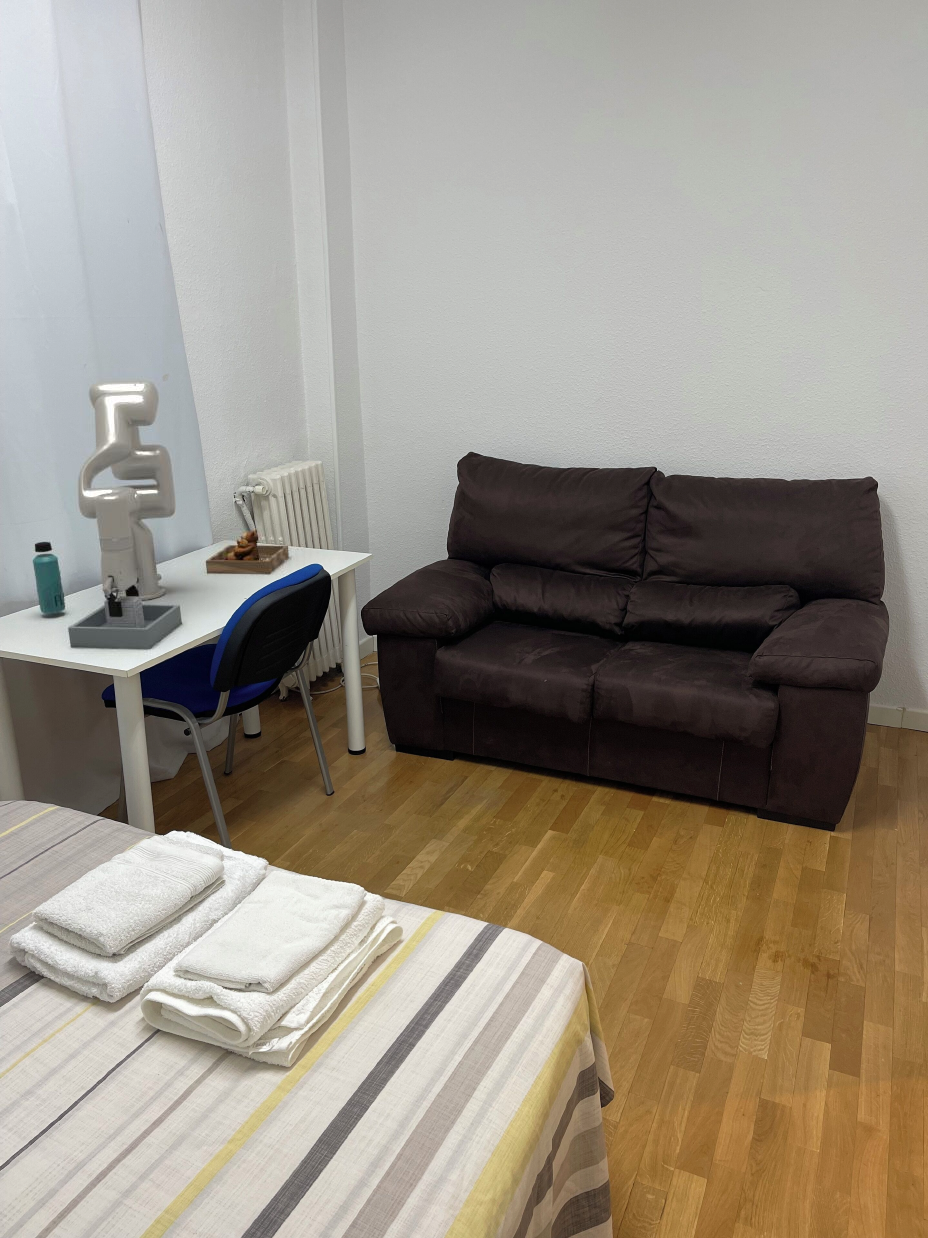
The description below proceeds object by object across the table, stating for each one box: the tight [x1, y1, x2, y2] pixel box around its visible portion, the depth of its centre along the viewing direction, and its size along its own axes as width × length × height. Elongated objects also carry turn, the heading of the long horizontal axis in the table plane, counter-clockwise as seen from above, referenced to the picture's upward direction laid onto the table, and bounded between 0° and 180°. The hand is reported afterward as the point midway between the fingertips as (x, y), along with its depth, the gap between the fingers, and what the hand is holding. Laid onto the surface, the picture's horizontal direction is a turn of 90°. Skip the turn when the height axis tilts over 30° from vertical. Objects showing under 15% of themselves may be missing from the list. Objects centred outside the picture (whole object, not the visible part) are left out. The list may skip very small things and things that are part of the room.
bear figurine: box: [223, 529, 268, 561], centre depth 304 cm, size 14×15×12 cm
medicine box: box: [103, 596, 145, 628], centre depth 241 cm, size 8×4×9 cm, turn 84°
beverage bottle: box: [32, 541, 66, 614], centre depth 257 cm, size 6×7×20 cm
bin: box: [67, 603, 183, 650], centre depth 242 cm, size 20×20×5 cm
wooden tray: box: [205, 544, 290, 575], centre depth 308 cm, size 21×20×4 cm
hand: (125, 610), depth 241 cm, fingers open, 9 cm apart
